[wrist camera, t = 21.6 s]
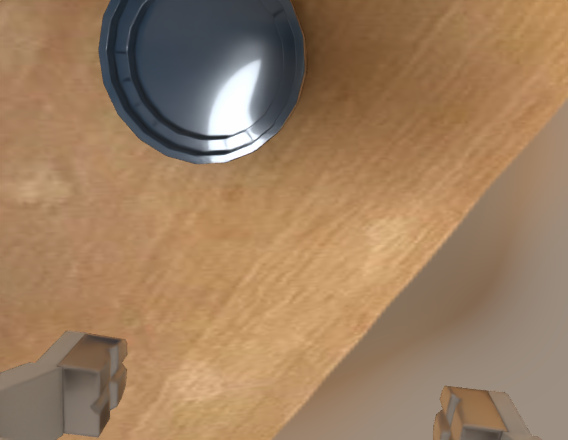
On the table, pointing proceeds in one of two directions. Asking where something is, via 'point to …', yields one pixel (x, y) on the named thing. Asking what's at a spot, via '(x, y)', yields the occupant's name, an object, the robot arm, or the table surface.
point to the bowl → (203, 73)
